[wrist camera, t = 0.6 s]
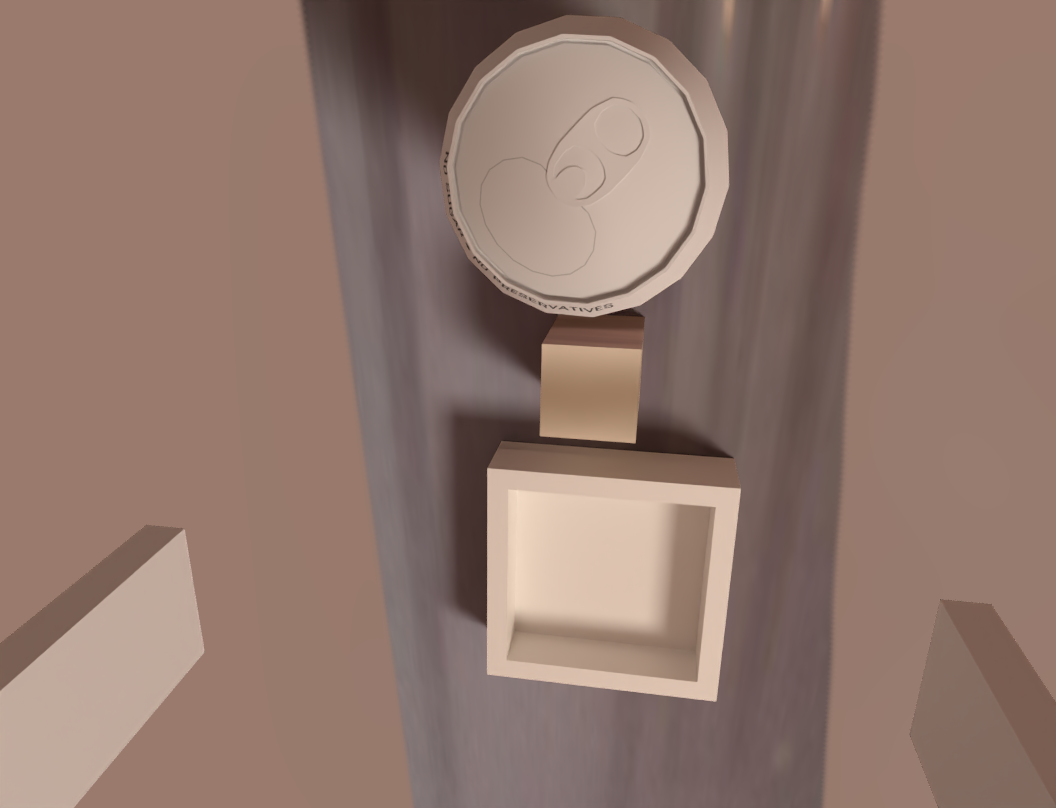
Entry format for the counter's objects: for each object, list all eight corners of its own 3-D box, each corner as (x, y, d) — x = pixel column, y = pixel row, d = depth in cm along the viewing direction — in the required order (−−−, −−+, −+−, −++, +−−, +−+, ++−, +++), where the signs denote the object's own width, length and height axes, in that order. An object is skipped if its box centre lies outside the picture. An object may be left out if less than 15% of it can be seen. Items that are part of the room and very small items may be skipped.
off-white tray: (501, 440, 40) (487, 468, 37) (734, 458, 39) (740, 488, 35) (500, 634, 44) (487, 674, 41) (711, 657, 42) (716, 701, 39)
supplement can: (609, 289, 37) (577, 385, 23) (480, 160, 36) (366, 179, 22) (744, 157, 34) (802, 175, 20) (609, 14, 33) (572, -72, 19)
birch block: (559, 312, 38) (542, 343, 32) (644, 316, 37) (641, 349, 32) (557, 392, 39) (539, 436, 33) (639, 397, 38) (635, 443, 33)
